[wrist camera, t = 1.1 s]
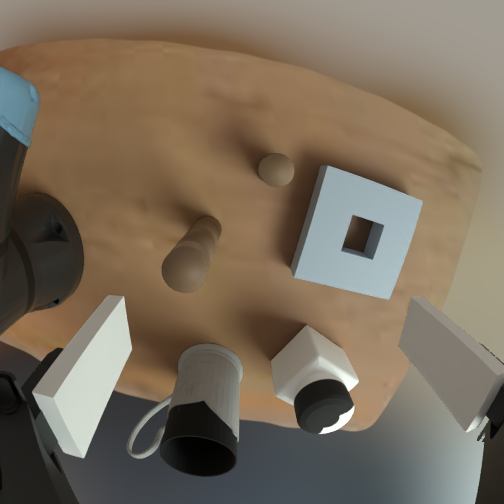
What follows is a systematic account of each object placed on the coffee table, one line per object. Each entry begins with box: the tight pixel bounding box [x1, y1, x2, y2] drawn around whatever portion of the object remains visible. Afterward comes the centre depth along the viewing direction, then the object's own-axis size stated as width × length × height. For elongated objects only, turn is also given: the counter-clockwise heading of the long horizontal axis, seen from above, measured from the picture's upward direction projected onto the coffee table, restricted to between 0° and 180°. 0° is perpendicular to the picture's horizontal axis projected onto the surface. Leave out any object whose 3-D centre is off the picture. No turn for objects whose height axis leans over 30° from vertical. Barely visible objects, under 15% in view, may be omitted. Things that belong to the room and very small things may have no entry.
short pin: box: [257, 153, 294, 187], centre depth 29 cm, size 3×3×6 cm
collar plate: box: [290, 165, 423, 300], centre depth 32 cm, size 12×12×3 cm
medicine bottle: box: [271, 325, 359, 434], centre depth 32 cm, size 7×7×12 cm
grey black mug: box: [127, 343, 243, 477], centre depth 31 cm, size 9×14×15 cm, turn 112°
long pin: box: [162, 216, 221, 293], centre depth 27 cm, size 3×3×14 cm
